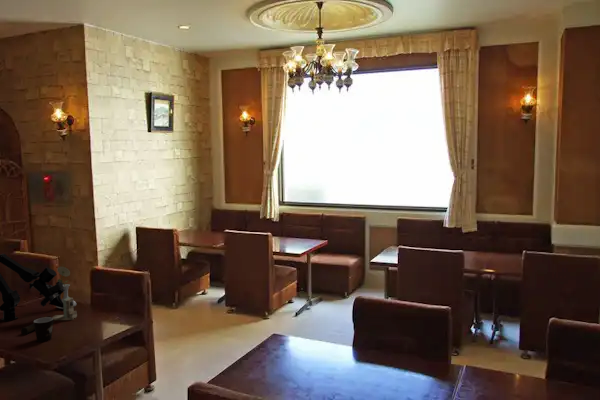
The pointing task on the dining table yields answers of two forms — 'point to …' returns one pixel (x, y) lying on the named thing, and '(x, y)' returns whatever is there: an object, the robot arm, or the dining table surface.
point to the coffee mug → (43, 328)
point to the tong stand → (67, 311)
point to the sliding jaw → (65, 306)
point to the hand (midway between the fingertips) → (64, 307)
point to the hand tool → (28, 329)
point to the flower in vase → (66, 273)
